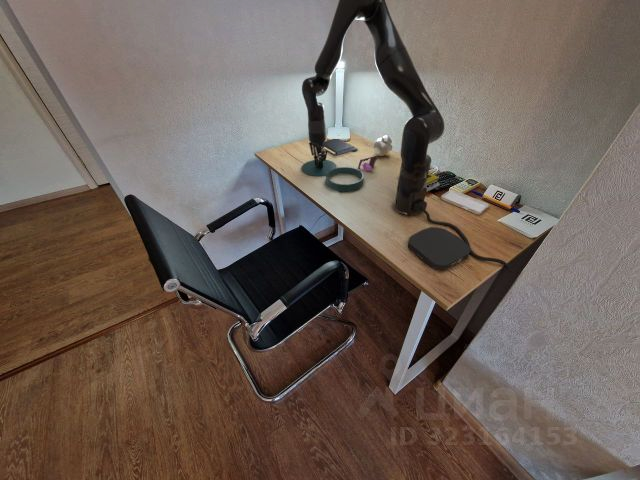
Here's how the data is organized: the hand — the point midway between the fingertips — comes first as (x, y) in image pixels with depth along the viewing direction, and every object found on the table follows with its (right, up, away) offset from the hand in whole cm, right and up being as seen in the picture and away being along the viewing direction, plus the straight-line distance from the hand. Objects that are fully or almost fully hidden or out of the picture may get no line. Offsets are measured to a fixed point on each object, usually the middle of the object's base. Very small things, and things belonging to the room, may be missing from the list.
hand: (319, 166), depth 125 cm
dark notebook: (+9, +15, +19) cm, 26 cm away
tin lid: (0, -1, +1) cm, 1 cm away
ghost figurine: (+32, +8, +9) cm, 34 cm away
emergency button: (+43, -10, -13) cm, 46 cm away
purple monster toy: (+23, -3, -3) cm, 23 cm away
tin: (+11, -10, -10) cm, 18 cm away
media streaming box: (+37, -39, -44) cm, 69 cm away
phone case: (+55, -21, -26) cm, 65 cm away
